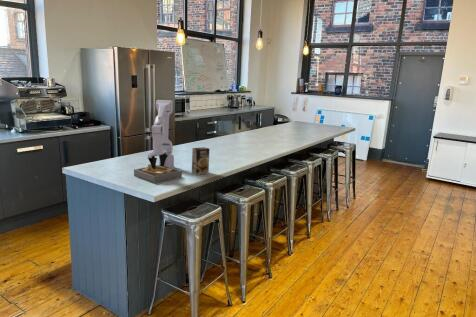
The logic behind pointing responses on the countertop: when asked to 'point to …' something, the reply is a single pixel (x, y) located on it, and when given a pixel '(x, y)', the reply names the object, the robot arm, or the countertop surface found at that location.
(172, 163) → the robot arm
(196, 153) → the coffee box
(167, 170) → the pine crate
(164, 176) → the charcoal crate
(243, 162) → the countertop surface
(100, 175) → the countertop surface
